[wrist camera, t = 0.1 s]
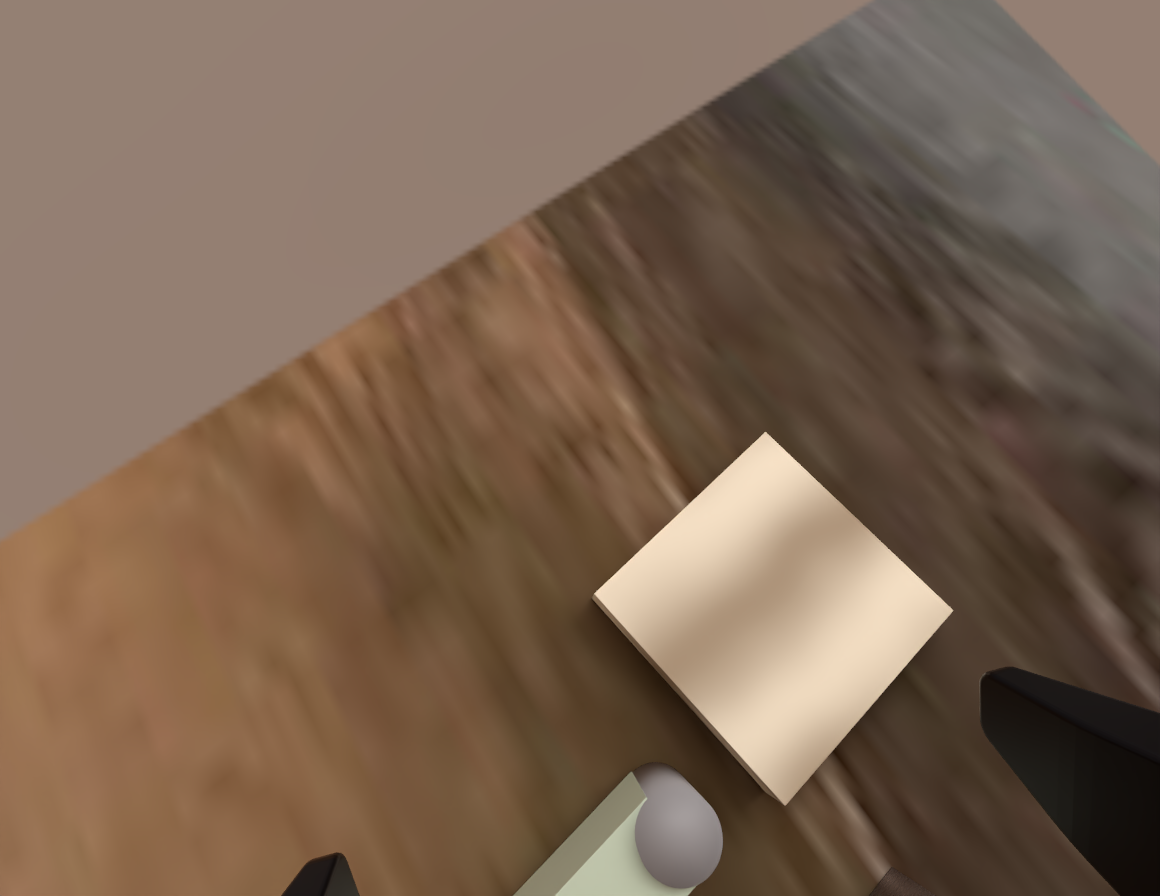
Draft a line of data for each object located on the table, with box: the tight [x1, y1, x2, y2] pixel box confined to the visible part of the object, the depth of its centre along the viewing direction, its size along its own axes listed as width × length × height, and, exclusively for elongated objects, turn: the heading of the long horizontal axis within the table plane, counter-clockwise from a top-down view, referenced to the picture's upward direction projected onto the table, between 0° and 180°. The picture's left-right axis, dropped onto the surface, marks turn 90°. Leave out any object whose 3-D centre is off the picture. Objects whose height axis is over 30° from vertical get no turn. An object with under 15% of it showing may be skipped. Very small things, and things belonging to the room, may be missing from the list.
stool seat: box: [592, 432, 953, 805], centre depth 23 cm, size 9×9×2 cm
